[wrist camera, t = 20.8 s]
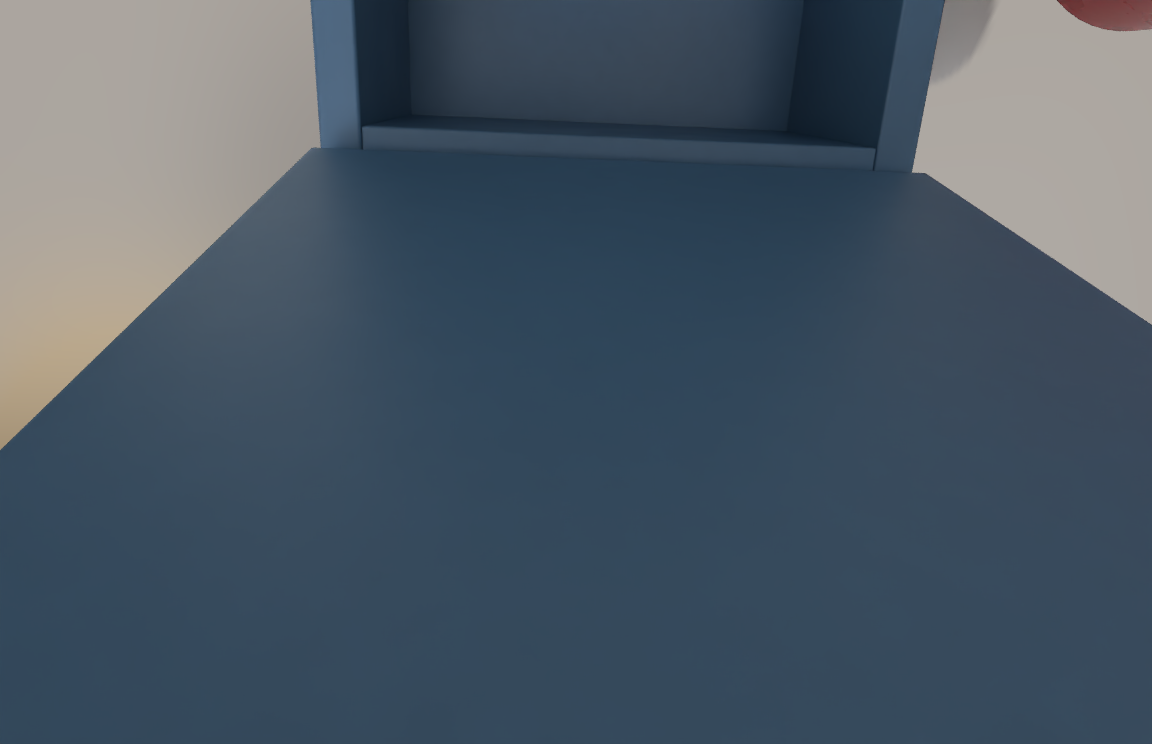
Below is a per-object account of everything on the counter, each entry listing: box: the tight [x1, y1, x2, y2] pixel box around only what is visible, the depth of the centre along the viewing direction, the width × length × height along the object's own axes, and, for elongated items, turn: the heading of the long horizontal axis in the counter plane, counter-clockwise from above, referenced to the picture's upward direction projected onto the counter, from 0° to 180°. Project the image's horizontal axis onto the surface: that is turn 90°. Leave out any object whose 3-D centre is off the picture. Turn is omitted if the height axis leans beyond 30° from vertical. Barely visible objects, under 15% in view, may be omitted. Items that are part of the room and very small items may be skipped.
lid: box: [0, 148, 1152, 744], centre depth 9 cm, size 12×12×1 cm
